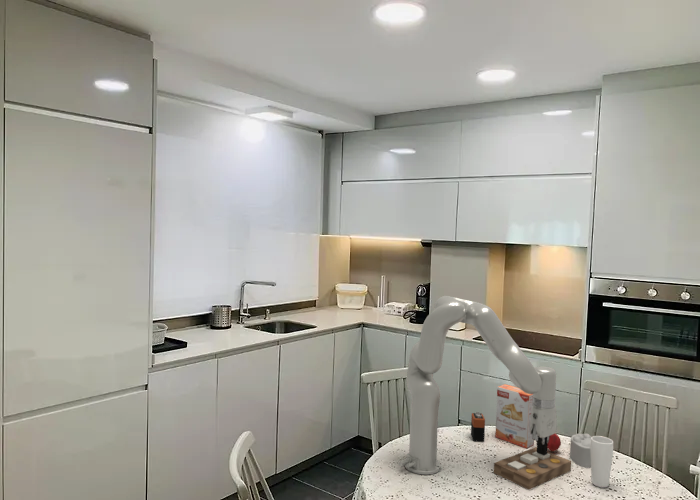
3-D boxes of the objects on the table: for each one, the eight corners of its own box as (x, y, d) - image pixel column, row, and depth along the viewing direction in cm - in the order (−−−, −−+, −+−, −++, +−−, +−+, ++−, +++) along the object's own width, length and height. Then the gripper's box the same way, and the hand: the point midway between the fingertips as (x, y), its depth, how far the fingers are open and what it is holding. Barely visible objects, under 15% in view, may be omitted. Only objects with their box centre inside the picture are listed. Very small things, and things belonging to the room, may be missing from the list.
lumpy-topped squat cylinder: (579, 467, 190) (580, 443, 190) (564, 452, 203) (565, 429, 203) (608, 468, 190) (609, 444, 190) (591, 452, 203) (592, 430, 203)
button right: (542, 463, 188) (542, 457, 188) (532, 459, 191) (532, 452, 191) (549, 461, 191) (550, 454, 190) (539, 456, 194) (539, 450, 194)
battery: (473, 441, 211) (474, 416, 210) (470, 434, 217) (471, 410, 217) (484, 442, 210) (485, 417, 210) (481, 435, 217) (482, 411, 217)
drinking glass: (592, 477, 183) (594, 434, 182) (613, 484, 178) (615, 439, 178) (586, 484, 177) (588, 439, 177) (608, 491, 173) (610, 445, 172)
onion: (561, 455, 200) (562, 434, 199) (545, 454, 201) (546, 432, 200) (558, 449, 205) (559, 428, 205) (543, 447, 206) (543, 427, 206)
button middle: (530, 467, 184) (530, 460, 184) (520, 463, 187) (520, 456, 187) (537, 464, 186) (538, 457, 186) (527, 460, 190) (527, 453, 190)
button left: (517, 475, 180) (518, 468, 180) (507, 470, 183) (507, 463, 183) (525, 472, 182) (525, 465, 182) (515, 467, 186) (515, 460, 186)
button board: (528, 489, 173) (529, 478, 173) (493, 473, 184) (494, 462, 184) (570, 470, 187) (571, 460, 187) (535, 456, 198) (536, 446, 198)
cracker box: (494, 437, 215) (496, 386, 214) (502, 434, 219) (504, 383, 218) (526, 449, 205) (528, 394, 204) (534, 445, 209) (537, 391, 208)
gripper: (540, 409, 183) (538, 462, 183) (565, 401, 191) (563, 452, 192) (521, 403, 189) (519, 455, 189) (546, 395, 197) (544, 445, 198)
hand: (541, 453), depth 191 cm, fingers closed
